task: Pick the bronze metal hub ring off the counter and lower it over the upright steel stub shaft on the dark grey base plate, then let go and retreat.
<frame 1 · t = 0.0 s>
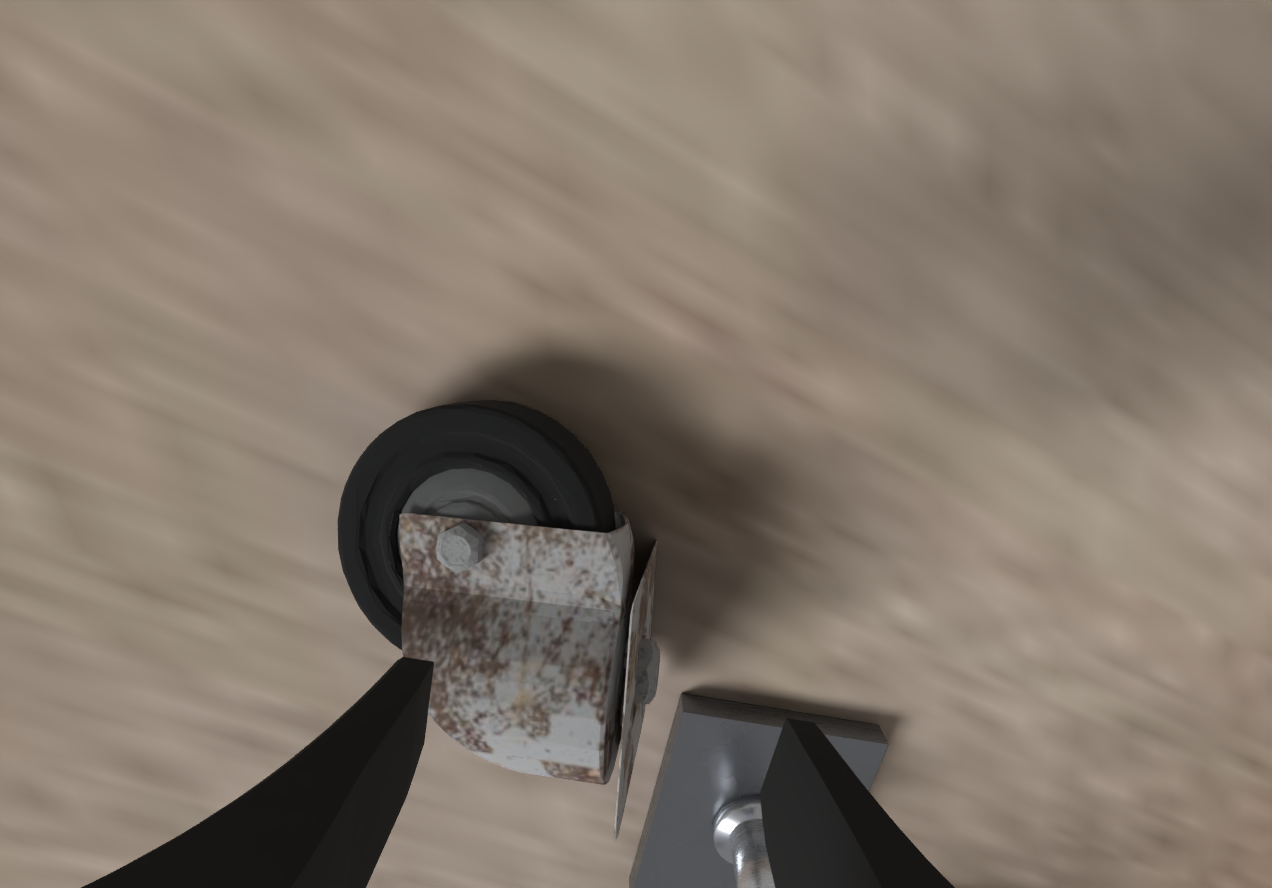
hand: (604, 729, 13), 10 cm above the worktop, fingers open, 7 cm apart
stub shaft: (748, 805, 27), on the worktop
caster wheel: (518, 543, 23), on the worktop
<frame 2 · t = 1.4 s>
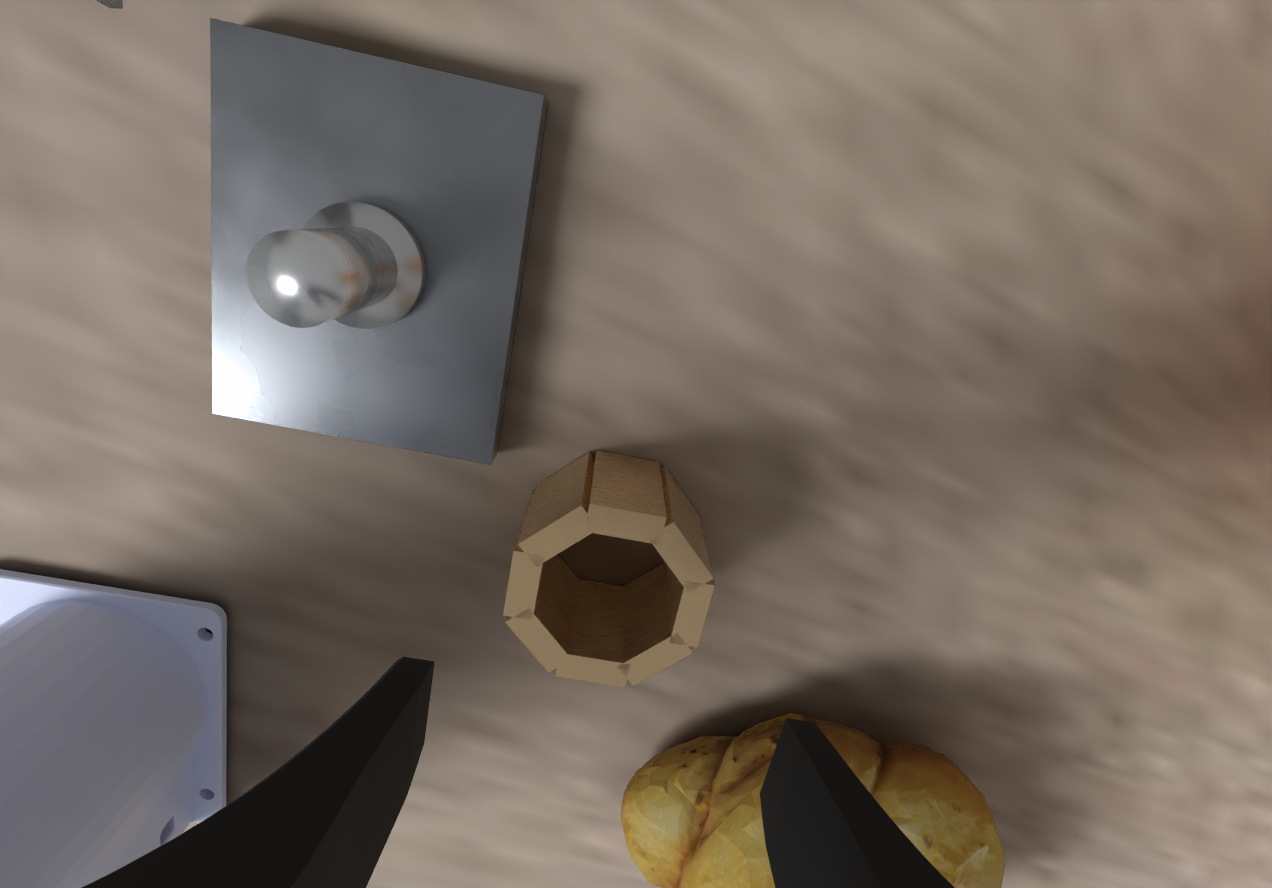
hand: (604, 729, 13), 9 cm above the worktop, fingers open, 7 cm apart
stub shaft: (379, 263, 19), on the worktop
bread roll: (789, 776, 25), on the worktop
hub ring: (611, 532, 21), on the worktop
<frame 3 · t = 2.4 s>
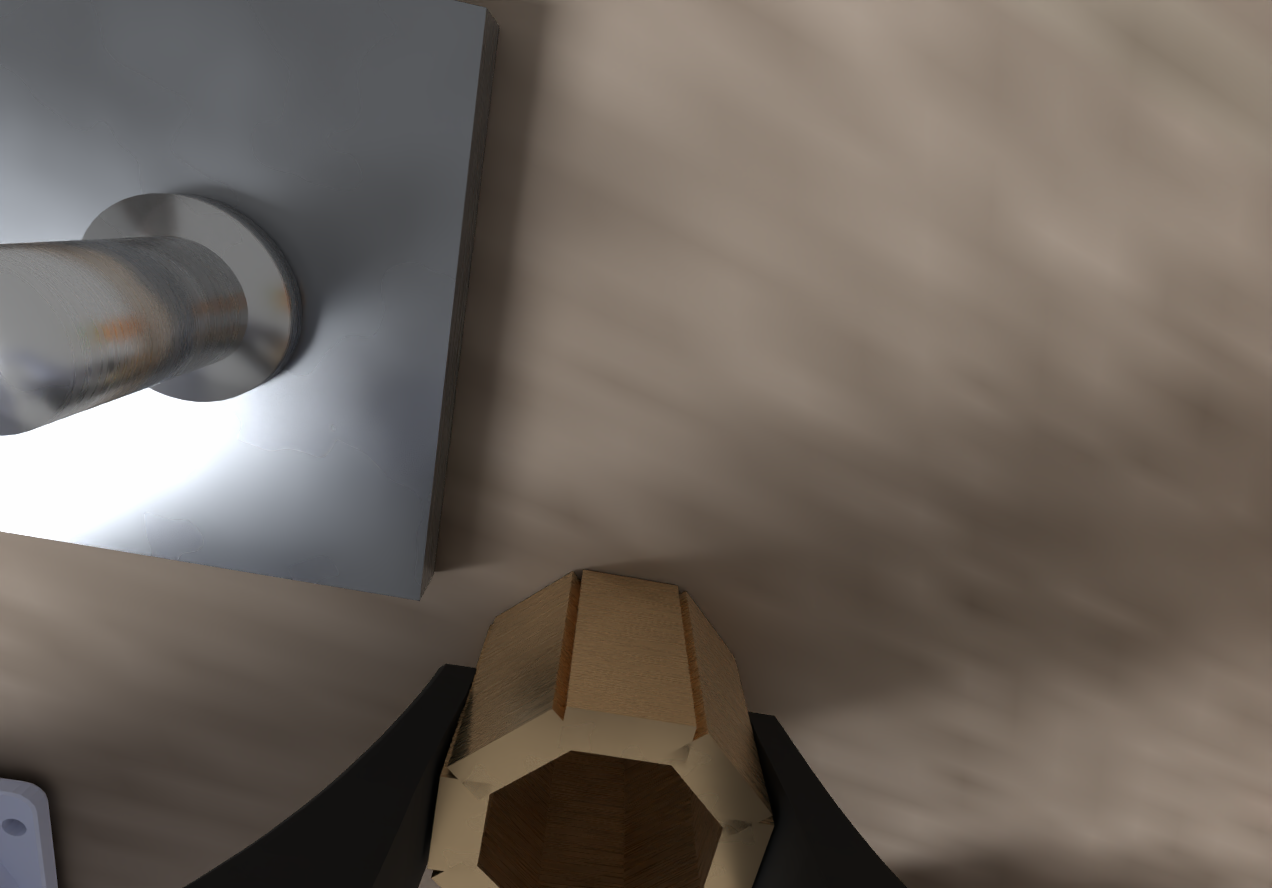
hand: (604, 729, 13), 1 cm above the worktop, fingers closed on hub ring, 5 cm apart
stub shaft: (236, 292, 12), on the worktop
hub ring: (606, 682, 15), on the worktop, touching gripper
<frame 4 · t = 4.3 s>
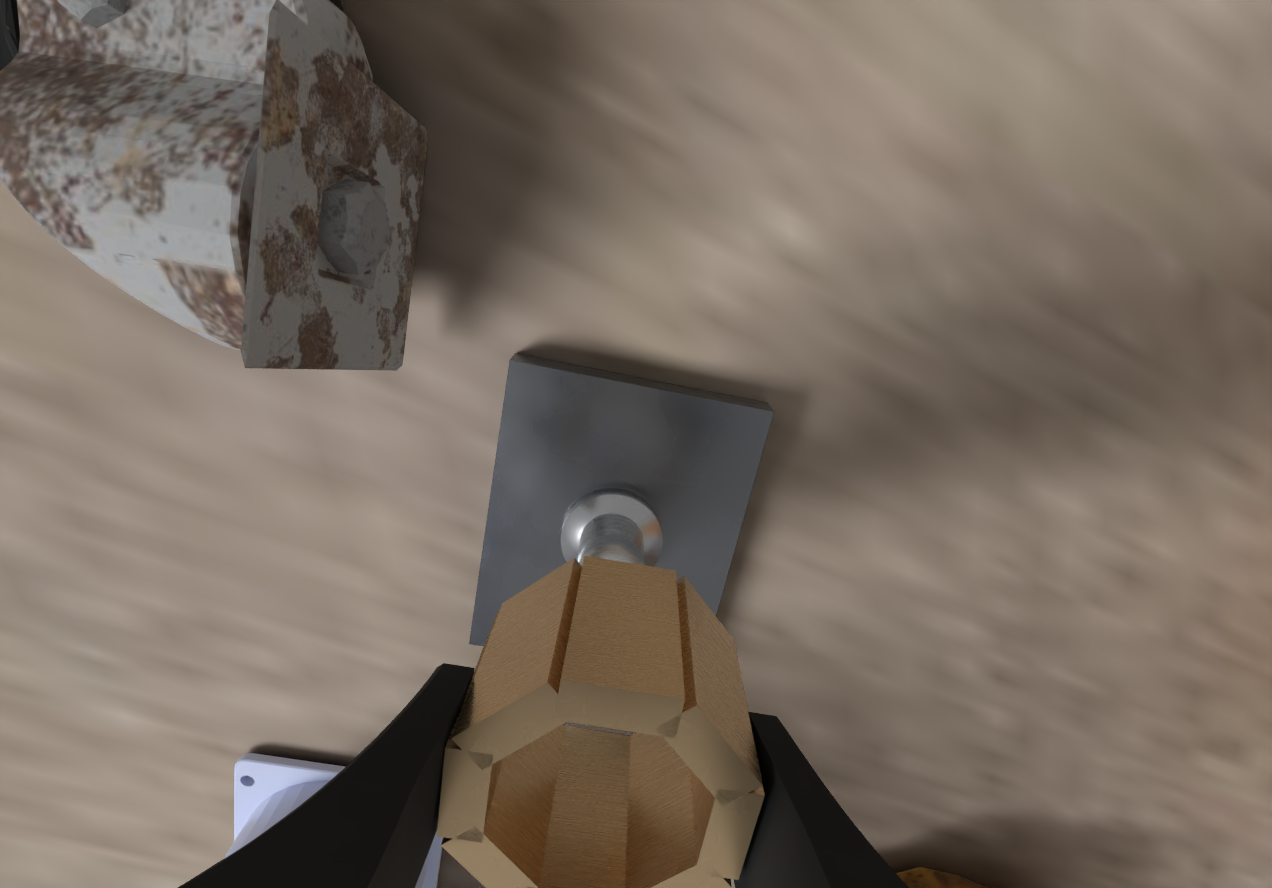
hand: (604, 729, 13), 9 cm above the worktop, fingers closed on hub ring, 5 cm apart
stub shaft: (612, 521, 22), on the worktop
caster wheel: (250, 123, 18), on the worktop
hub ring: (610, 665, 15), point 7 cm above the worktop, touching gripper
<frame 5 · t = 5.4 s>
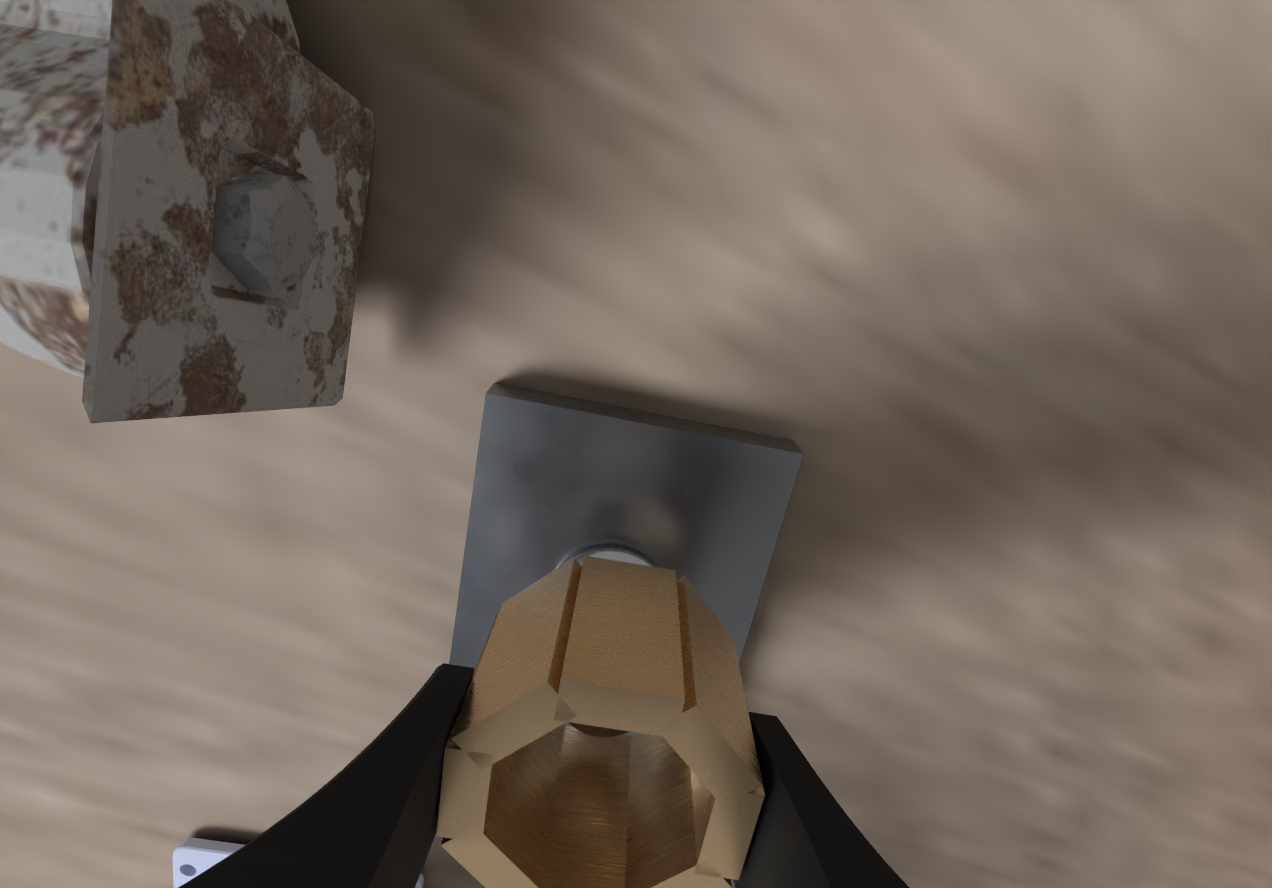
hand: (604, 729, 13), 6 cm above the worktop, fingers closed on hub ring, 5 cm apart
stub shaft: (610, 577, 19), on the worktop
caster wheel: (158, 102, 15), on the worktop
hub ring: (610, 665, 15), point 4 cm above the worktop, touching gripper
when the fingers open (4 cm above the worktop, at t = 6.4 s): hub ring drops 1 cm, resting on stub shaft.
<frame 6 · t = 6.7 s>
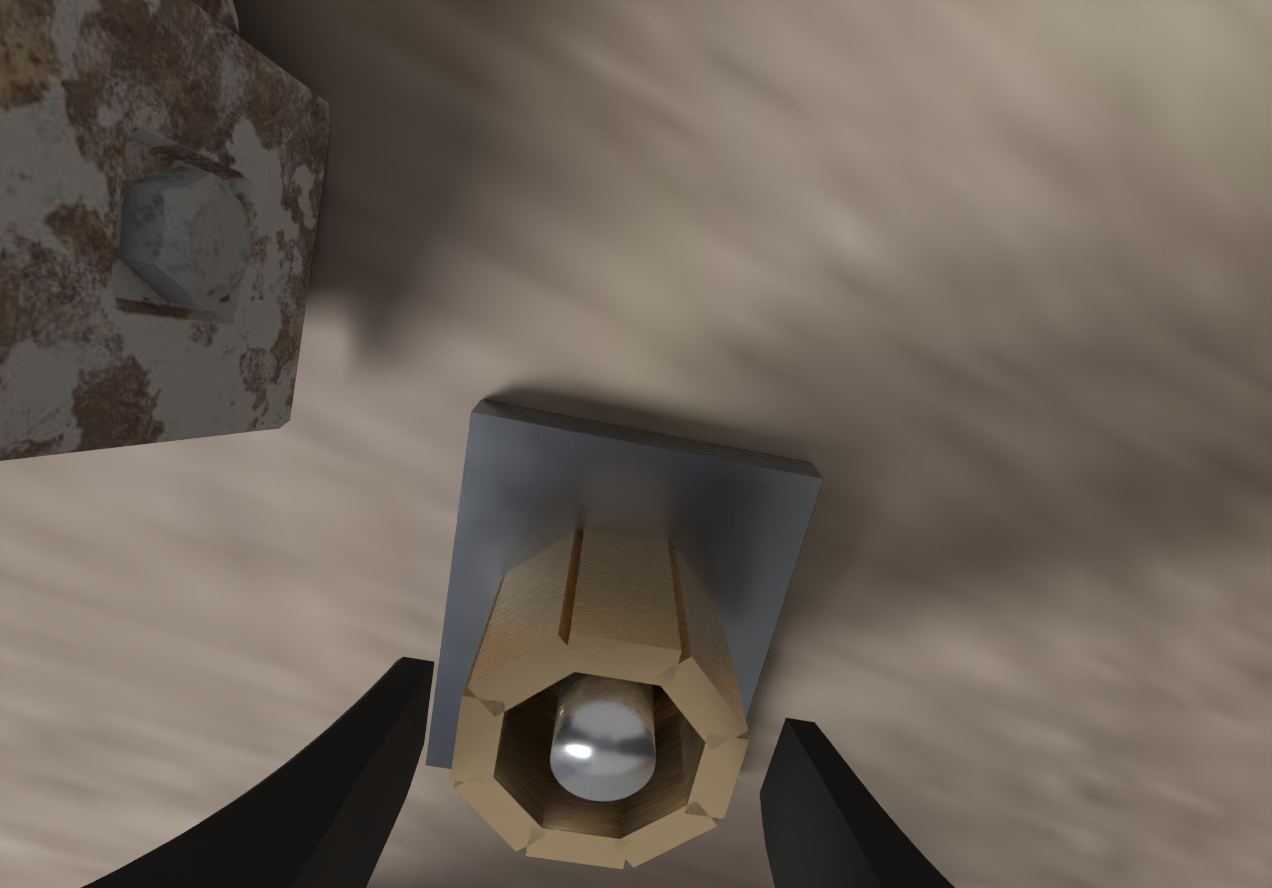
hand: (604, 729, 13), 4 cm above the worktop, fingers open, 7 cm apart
stub shaft: (609, 610, 17), on the worktop
caster wheel: (88, 84, 13), on the worktop
hub ring: (605, 632, 16), point 1 cm above the worktop, touching stub shaft
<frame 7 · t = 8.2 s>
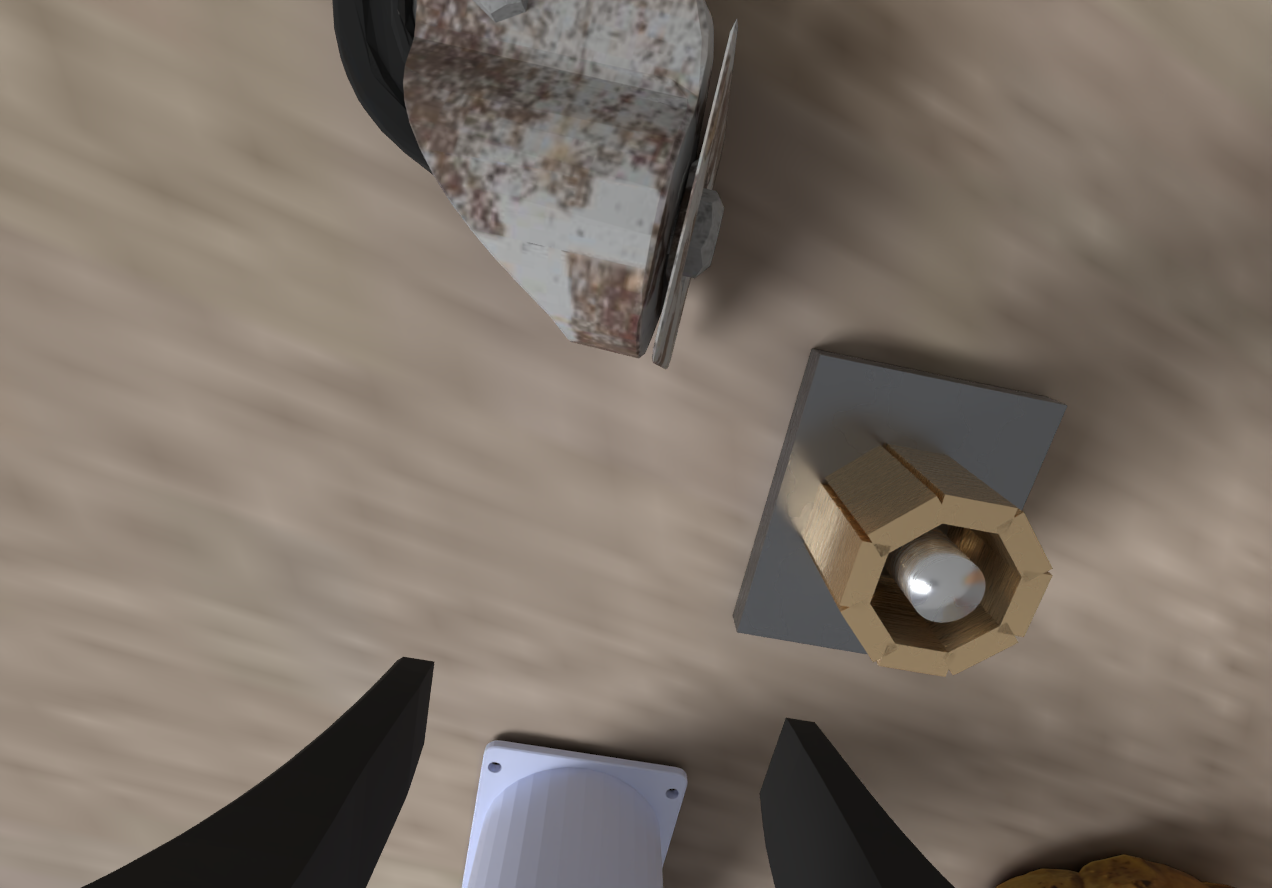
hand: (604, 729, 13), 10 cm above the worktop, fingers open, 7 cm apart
stub shaft: (881, 512, 23), on the worktop
caster wheel: (551, 119, 19), on the worktop
hub ring: (889, 525, 22), point 1 cm above the worktop, touching stub shaft
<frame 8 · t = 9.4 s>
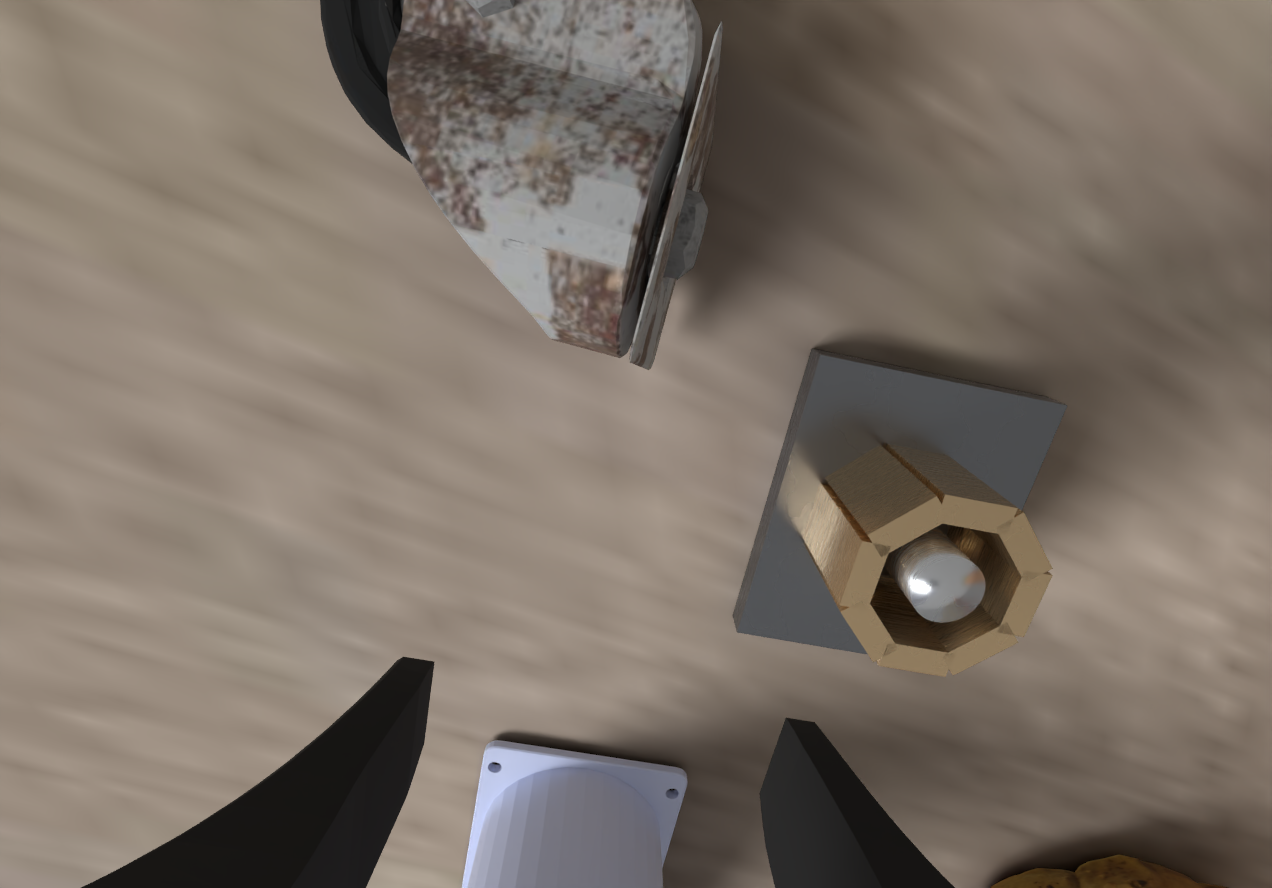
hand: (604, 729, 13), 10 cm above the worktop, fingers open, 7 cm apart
stub shaft: (881, 512, 23), on the worktop
caster wheel: (540, 116, 19), on the worktop
hub ring: (889, 525, 22), point 1 cm above the worktop, touching stub shaft
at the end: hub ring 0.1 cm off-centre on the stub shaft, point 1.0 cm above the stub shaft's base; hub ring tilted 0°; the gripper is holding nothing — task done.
